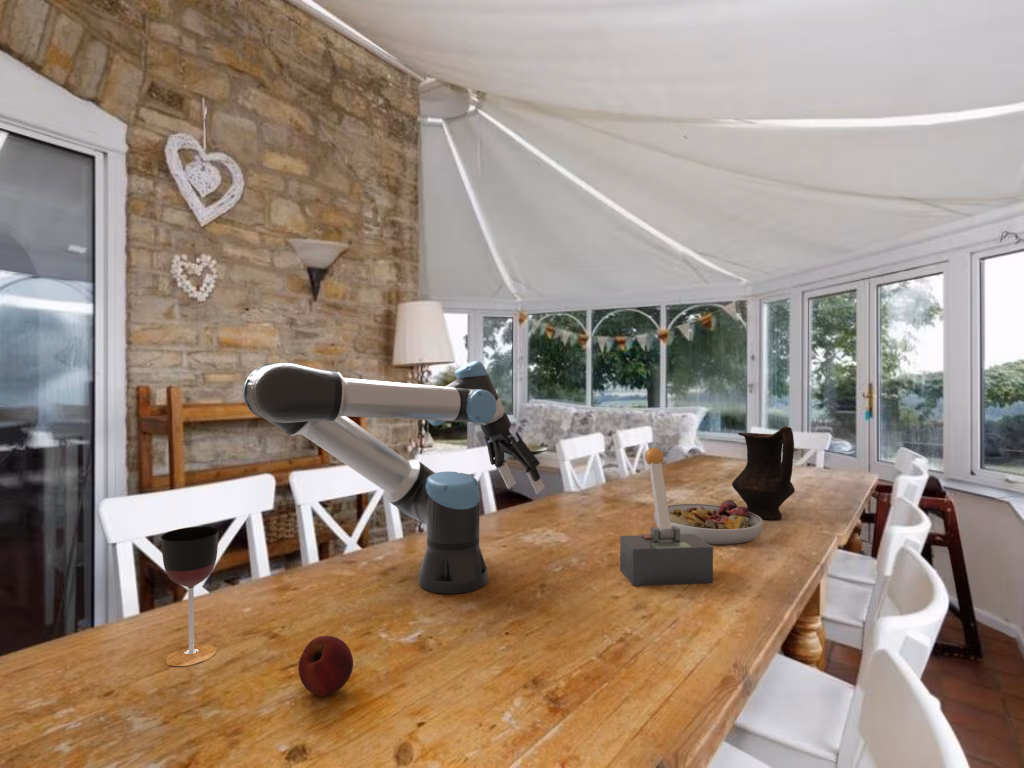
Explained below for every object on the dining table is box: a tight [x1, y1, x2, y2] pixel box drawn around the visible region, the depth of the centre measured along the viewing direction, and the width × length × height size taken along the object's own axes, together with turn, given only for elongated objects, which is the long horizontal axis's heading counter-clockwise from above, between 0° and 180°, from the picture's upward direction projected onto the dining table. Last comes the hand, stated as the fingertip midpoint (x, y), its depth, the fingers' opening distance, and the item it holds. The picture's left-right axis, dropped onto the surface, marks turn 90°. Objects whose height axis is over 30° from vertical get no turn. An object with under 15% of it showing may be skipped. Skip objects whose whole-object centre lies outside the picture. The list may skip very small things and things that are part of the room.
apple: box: [297, 635, 354, 697], centre depth 81 cm, size 7×8×8 cm
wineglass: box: [160, 526, 219, 654], centre depth 91 cm, size 8×9×20 cm
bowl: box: [653, 499, 764, 545], centre depth 163 cm, size 30×30×8 cm
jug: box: [731, 426, 796, 521], centre depth 178 cm, size 21×18×30 cm
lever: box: [644, 447, 674, 540], centre depth 130 cm, size 4×4×22 cm
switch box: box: [619, 526, 714, 587], centre depth 127 cm, size 10×18×11 cm, turn 95°
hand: (525, 488), depth 148 cm, fingers open, 13 cm apart
